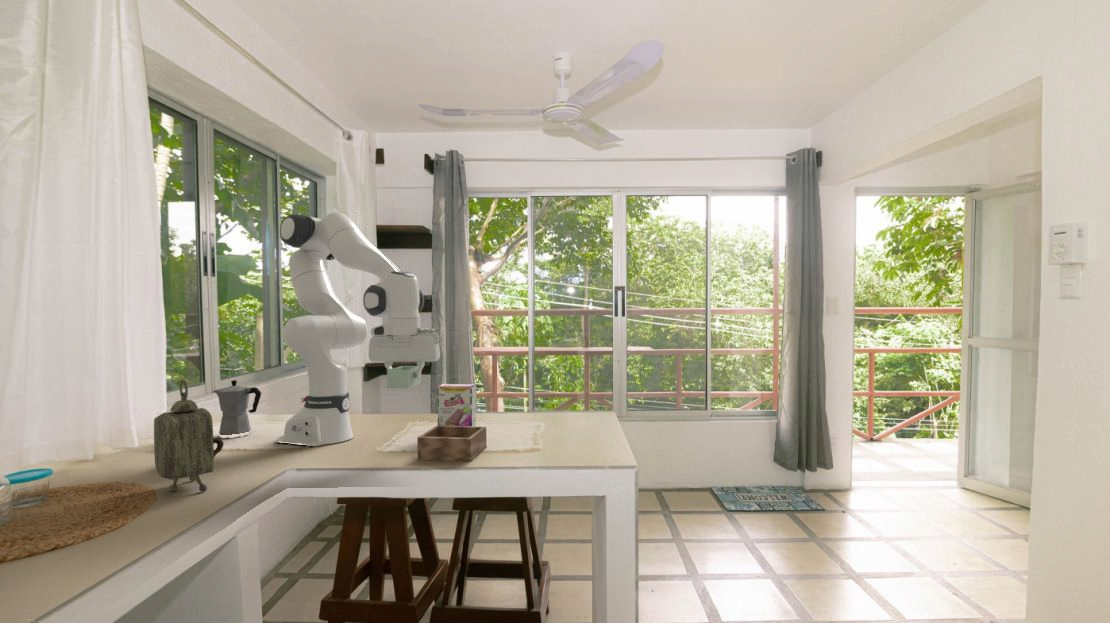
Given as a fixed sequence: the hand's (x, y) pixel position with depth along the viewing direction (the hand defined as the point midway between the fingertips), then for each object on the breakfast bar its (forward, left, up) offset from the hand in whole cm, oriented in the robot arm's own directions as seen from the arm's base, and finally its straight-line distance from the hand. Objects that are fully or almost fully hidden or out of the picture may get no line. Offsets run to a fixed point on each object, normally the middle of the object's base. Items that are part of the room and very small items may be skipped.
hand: (404, 377), depth 149 cm
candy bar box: (+8, +19, -22) cm, 30 cm away
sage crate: (0, 0, -2) cm, 2 cm away
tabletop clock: (-38, -35, -22) cm, 56 cm away
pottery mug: (-51, -17, -22) cm, 58 cm away
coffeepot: (-64, +12, -22) cm, 68 cm away
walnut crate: (+14, +1, -21) cm, 25 cm away
